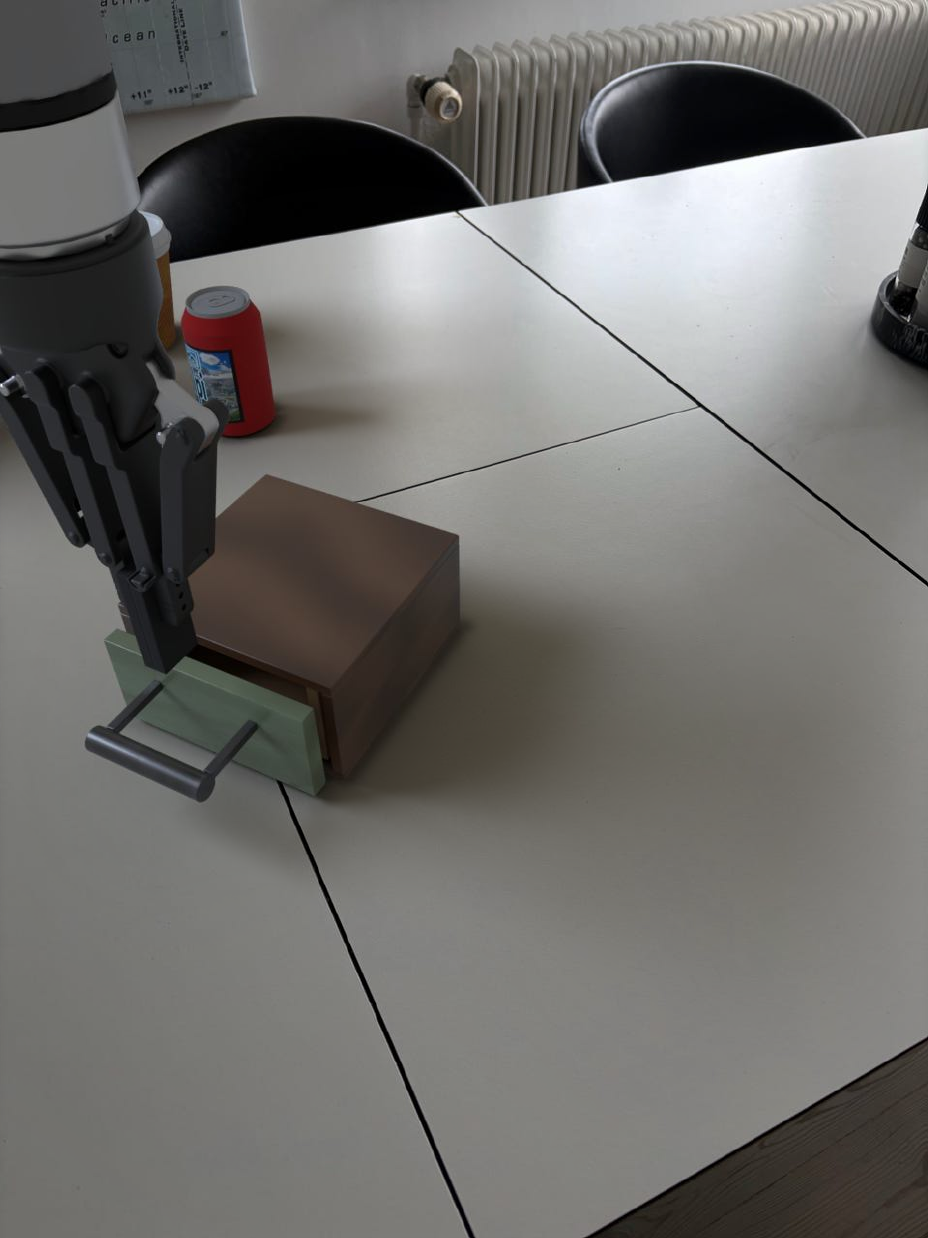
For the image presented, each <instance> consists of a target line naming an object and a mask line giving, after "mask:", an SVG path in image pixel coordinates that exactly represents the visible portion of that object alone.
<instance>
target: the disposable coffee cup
mask: <svg viewBox="0 0 928 1238" xmlns="http://www.w3.org/2000/svg"><path fill="white" fill-rule="evenodd" d="M137 211H138V212H139V213H141V214H142V215H143V216H144V217H145V218H146V219H147V221H148V225H149V229H150V234H151V238H152V243H153V247H154V252H155V256H156V261H157V265H158V270H159V274H160V279H161V283H162V288H163V302H162V306H161V310H160V314H159V319H158V326H157V332H158V336H159V338H160V341H161V343H162V345H163V347H164V349H165V350H167V349H168V348H170V347H171V346H172V345H173V344H174V343H175V341H176V339H177V336H176V325H175V323H176V322H175V314H174V301H173V300H174V298H173V289H172V276H171V264H170V252H169V251H170V246H171V241H172V234H171V232H170V231H169V229H167V228H166V226H165V223H164V221H163V220H162V218H161V217H160V216H159V215H156V214H154V213H151V212H147V211H142V210H137Z"/></svg>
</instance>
